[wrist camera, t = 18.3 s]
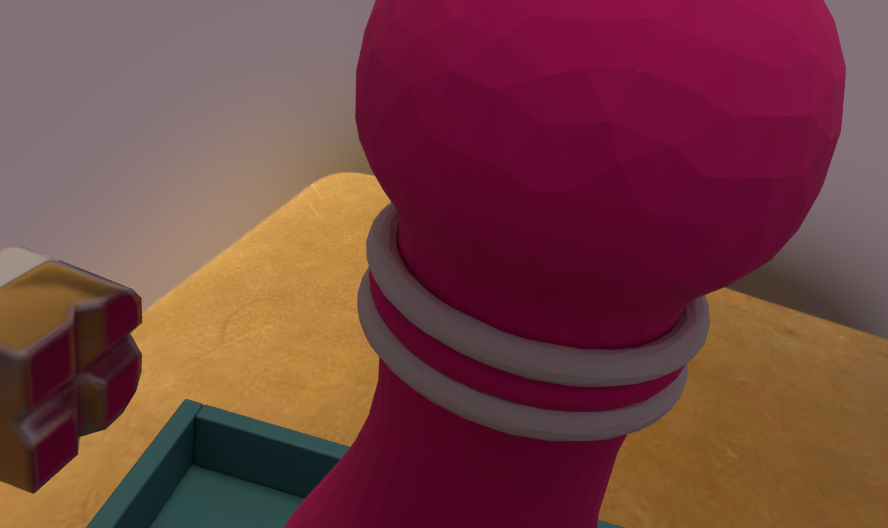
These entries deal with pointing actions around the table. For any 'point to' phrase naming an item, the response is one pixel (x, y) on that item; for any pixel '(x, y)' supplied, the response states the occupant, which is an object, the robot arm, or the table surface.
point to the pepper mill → (561, 234)
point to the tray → (221, 474)
